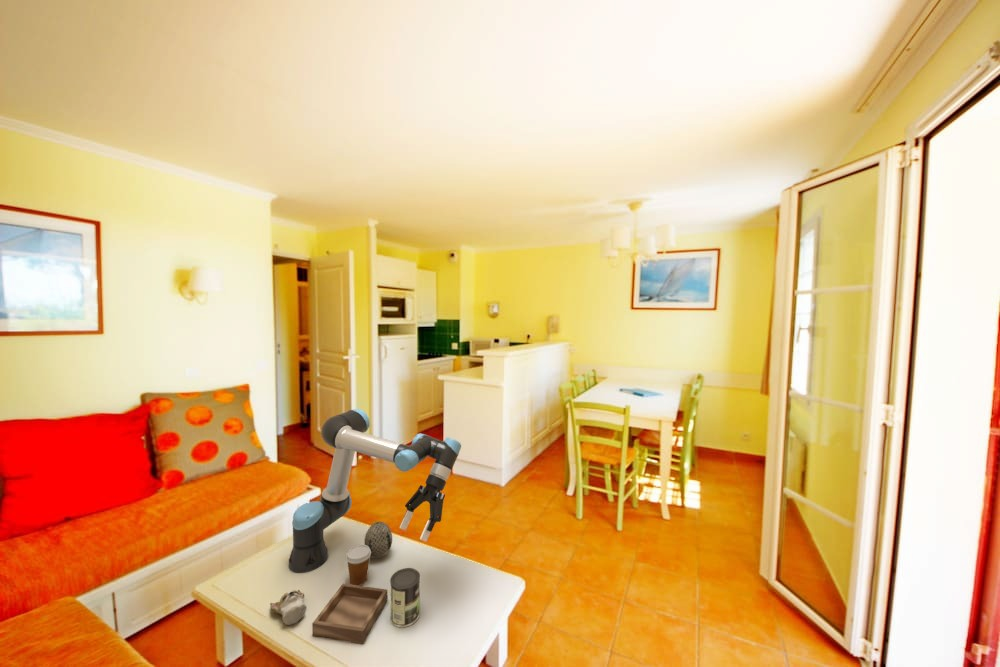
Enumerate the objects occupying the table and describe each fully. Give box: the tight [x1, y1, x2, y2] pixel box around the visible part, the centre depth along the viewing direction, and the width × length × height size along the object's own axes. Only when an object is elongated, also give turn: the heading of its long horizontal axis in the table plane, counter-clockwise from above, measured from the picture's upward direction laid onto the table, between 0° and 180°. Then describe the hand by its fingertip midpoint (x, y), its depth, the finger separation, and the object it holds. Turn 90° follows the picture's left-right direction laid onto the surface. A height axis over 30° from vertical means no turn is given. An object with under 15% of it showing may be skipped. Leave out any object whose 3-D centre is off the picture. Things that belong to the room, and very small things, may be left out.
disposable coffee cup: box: [345, 544, 371, 586], centre depth 147 cm, size 10×10×12 cm
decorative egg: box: [363, 521, 393, 559], centre depth 161 cm, size 12×12×15 cm
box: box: [311, 583, 389, 645], centre depth 129 cm, size 18×18×4 cm
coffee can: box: [389, 567, 421, 628], centre depth 130 cm, size 10×10×14 cm
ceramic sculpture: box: [269, 589, 307, 626], centre depth 130 cm, size 11×9×15 cm
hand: (412, 534), depth 134 cm, fingers open, 13 cm apart
